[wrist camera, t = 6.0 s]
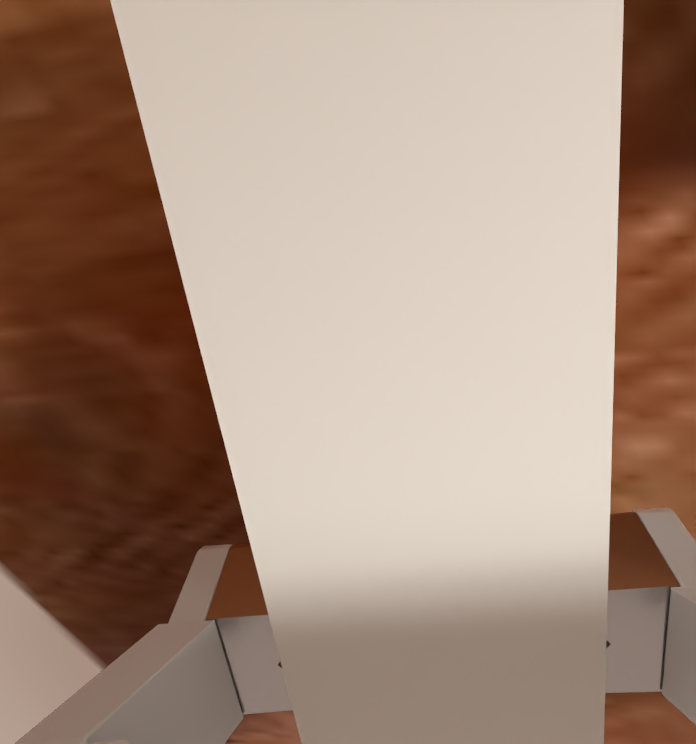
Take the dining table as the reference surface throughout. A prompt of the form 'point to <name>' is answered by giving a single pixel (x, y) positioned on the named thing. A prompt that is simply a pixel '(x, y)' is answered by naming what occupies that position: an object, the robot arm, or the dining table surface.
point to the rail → (406, 339)
